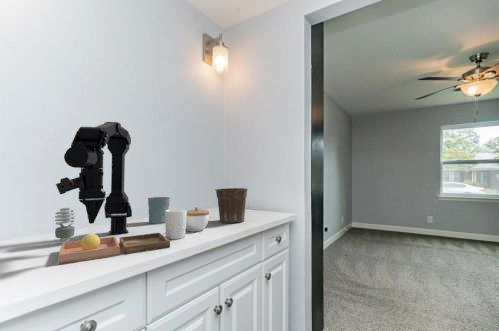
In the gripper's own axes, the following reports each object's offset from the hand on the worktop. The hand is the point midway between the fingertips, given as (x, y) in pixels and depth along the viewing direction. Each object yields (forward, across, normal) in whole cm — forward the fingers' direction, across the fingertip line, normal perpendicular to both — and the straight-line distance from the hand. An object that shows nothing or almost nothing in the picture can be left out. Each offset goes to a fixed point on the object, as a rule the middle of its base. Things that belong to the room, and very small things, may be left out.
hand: (91, 220), depth 76 cm
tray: (+9, 0, +15) cm, 18 cm away
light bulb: (+10, -17, -7) cm, 21 cm away
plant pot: (+10, -22, +60) cm, 65 cm away
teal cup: (+10, -39, +29) cm, 49 cm away
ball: (+9, 0, 0) cm, 9 cm away
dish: (+9, 0, 0) cm, 9 cm away
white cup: (+10, -5, +27) cm, 29 cm away
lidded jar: (+10, -13, +38) cm, 41 cm away
